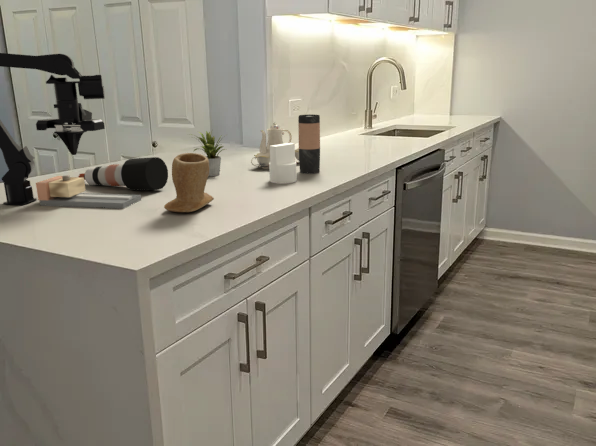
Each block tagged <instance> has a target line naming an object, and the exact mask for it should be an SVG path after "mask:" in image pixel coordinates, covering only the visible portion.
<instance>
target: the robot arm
mask: <svg viewBox="0 0 596 446" xmlns="http://www.w3.org/2000/svg"><path fill="white" fill-rule="evenodd" d="M0 67H1V68H2V67H3V68H18V69H28V70H29V69H30V70H38V71H41V72H46V73H51V74H50V75H49V78H48V79H47V80H46V81H45V84H48V85H53V88H54V94H55V104H53V108H54V109H56V110H57V117H58V118H46V119H45V118H44V119H38V120H37V121H36V123H35V128H36V131H47V130H48V129H55V131H54V134H56V135H57V136H58V137H59V138H60V140H61V141H62V142H63V143H64V145H65V147H66V148H67V150H68V152H69V153H70V155H71V156H75V155H77V152H78V149H79V144H80V141H81V138H82V136H83V135H84V133H87V132H95V131H100V130H105V129H106V128H105V127H106V126H105V122H104V121H103V120H102V119H100V118H98V119H97V118H96V119H95V118H94V119H93V112H91V111H89V110H87V109H84V108H83V105H82V103H81V102H79V100H78V96H79V97H83V99H84V100H105V98H106V97H105V87H104V85H103V77H102V75H101V74H95V75H82V73H81V72H80V71H79V70H78V69H77V68H76V67H75V62H74V61H73V58H72V57H71V56H69V55H67V54H64V53H53V54H52V53H51V54H41V55H32V54H28V55H27V54H18V53H9V52H8V53H5V52H0ZM54 75H58V76H66V77H56V76H54ZM68 78H71V79H72V80H73V79H75V81H74V80H73V81H72V80H71V81H68ZM76 79H78V80H79V81H77V80H76ZM77 88H78V89H77ZM77 90H78V91H77ZM0 150H1V153H2V155H3V159H4V162H5V164H6V165H5V166H6V167H7V168H8V171H7V172H5V174H4V175H3V176H2V177H1V181H2V183H3V186H4V192H5V197H6V201H4V202H2V205H10V206H11V205H13V206H23V205H26V204H29V203H31V202H35V201H37V199H38V198H37V197H36V198H35V197H34V192H33V187H32V185H31V180H28V179H29V175H30V174H31V173H32V172H33V171H34V169H35V160H34V159H35V157H34V156H33V155H32V154H31V153H30V151H29V147H28V146H27V145H26V146H24V147H23V148H22V147H21V146H20V145H19V144H18V143H17V142H16V141H15V139H14V138H13V137H12V135H11V134H10V132H9V131H8V129H7V128H6V126H5V125H4V123H3V121H2V120H1V119H0Z"/></svg>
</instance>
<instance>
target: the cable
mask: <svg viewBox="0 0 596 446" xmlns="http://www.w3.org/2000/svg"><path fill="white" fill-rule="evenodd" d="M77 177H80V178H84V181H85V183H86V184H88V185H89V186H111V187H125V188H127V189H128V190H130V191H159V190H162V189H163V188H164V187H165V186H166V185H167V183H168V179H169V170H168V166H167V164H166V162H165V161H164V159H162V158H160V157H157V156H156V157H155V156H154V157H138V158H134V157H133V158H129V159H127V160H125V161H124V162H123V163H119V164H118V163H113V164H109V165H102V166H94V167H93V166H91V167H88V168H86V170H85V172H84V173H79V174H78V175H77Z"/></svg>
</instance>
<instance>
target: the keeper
mask: <svg viewBox="0 0 596 446" xmlns="http://www.w3.org/2000/svg"><path fill="white" fill-rule="evenodd" d="M61 176H62V178H61V179H58V180H55V181H52V182H49V190H50V197H71V196H74V195H76V194H79V193H85V192H86V184H85V183H86V181H85V180H84V178H80V177H78V176H77V177H73V176H72V177H70V175H69V174H66V175H61Z"/></svg>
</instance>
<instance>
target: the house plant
mask: <svg viewBox="0 0 596 446" xmlns="http://www.w3.org/2000/svg"><path fill="white" fill-rule="evenodd" d="M205 132H206V133H205V136H204V134H203V133H202V132H200V131H198V133H199V135H201V137H200V136H199V137H198V136H197V135H195V134H191V133H190V134H188V135H191V138H193V139H195V138H196V140H198V142H199V143H201V145H202V146H200V148H201V150H202V151H203V152H204V154H206V155H205V156H206V157H207V158H208V160H209V175H208V177H216V176H220V175H221V174H220V172H221V163H222V156H221V155H219V153H221V152H222V151H225V150H226V148H224V149H222V148H223V147H224V145H222V144H221V143H220V142H221V141H222V139H221V137H222V135H223V134H222V135H220V137H219V138H218V140H216V141H217V142H216V143H215V136H212V132H213V130H211V131H209V132H208V131H207V130H206V131H205ZM193 136H194V137H193ZM226 136H227V134H225V135H224V137H226ZM200 141H201V142H200ZM200 148H195V149H194V150H193V152H195V151H197V150H200Z"/></svg>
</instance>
